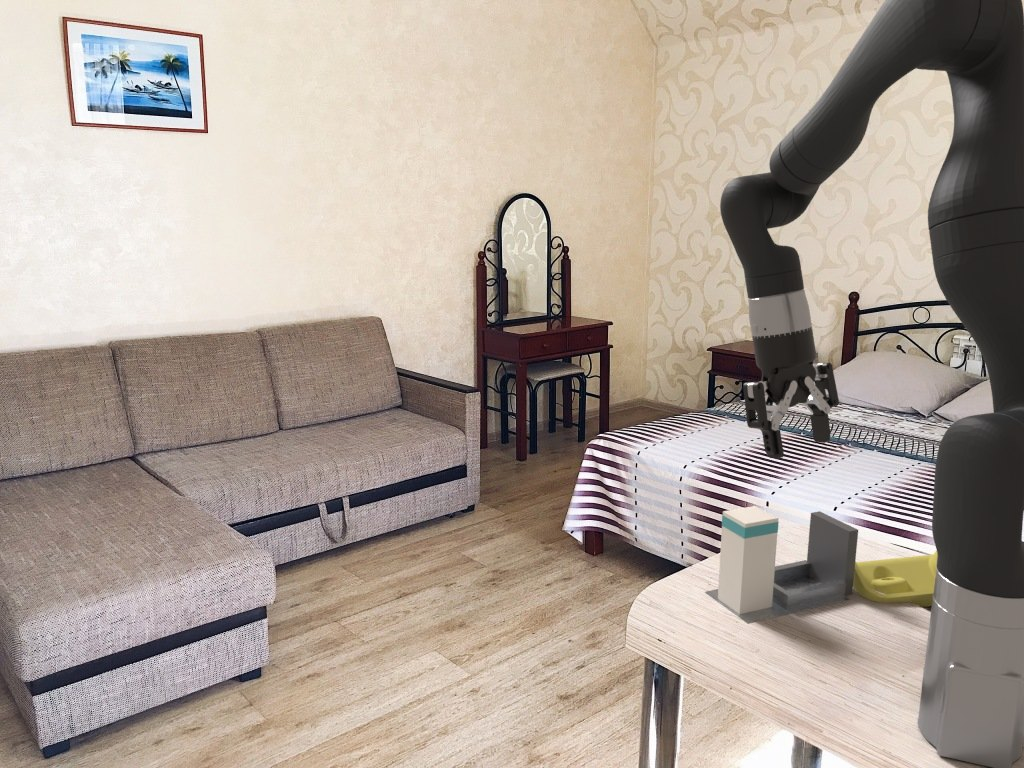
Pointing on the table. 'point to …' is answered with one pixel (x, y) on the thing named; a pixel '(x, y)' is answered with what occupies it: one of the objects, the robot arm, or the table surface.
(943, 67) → the robot arm
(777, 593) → the rail plate
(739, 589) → the block
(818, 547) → the end stop
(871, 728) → the table surface
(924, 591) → the plastic component
